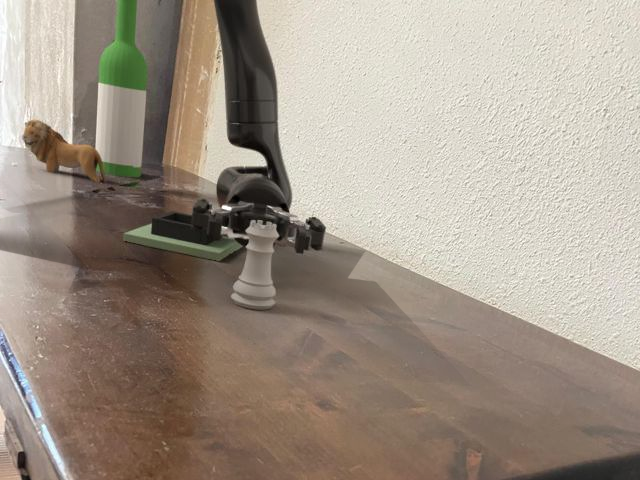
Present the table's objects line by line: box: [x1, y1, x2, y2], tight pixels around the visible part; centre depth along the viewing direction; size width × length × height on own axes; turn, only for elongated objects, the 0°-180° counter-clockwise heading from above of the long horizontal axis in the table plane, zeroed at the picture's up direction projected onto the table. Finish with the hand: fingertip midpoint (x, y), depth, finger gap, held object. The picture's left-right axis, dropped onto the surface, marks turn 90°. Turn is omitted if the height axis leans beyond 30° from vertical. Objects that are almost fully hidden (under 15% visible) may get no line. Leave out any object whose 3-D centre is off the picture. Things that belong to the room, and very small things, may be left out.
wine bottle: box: [94, 0, 148, 187], centre depth 123 cm, size 8×8×30 cm
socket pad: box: [123, 210, 244, 262], centre depth 94 cm, size 12×12×3 cm
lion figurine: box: [21, 119, 116, 194], centre depth 116 cm, size 15×5×9 cm, turn 88°
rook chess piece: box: [230, 220, 279, 311], centre depth 73 cm, size 4×4×8 cm
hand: (260, 237), depth 75 cm, fingers open, 8 cm apart
